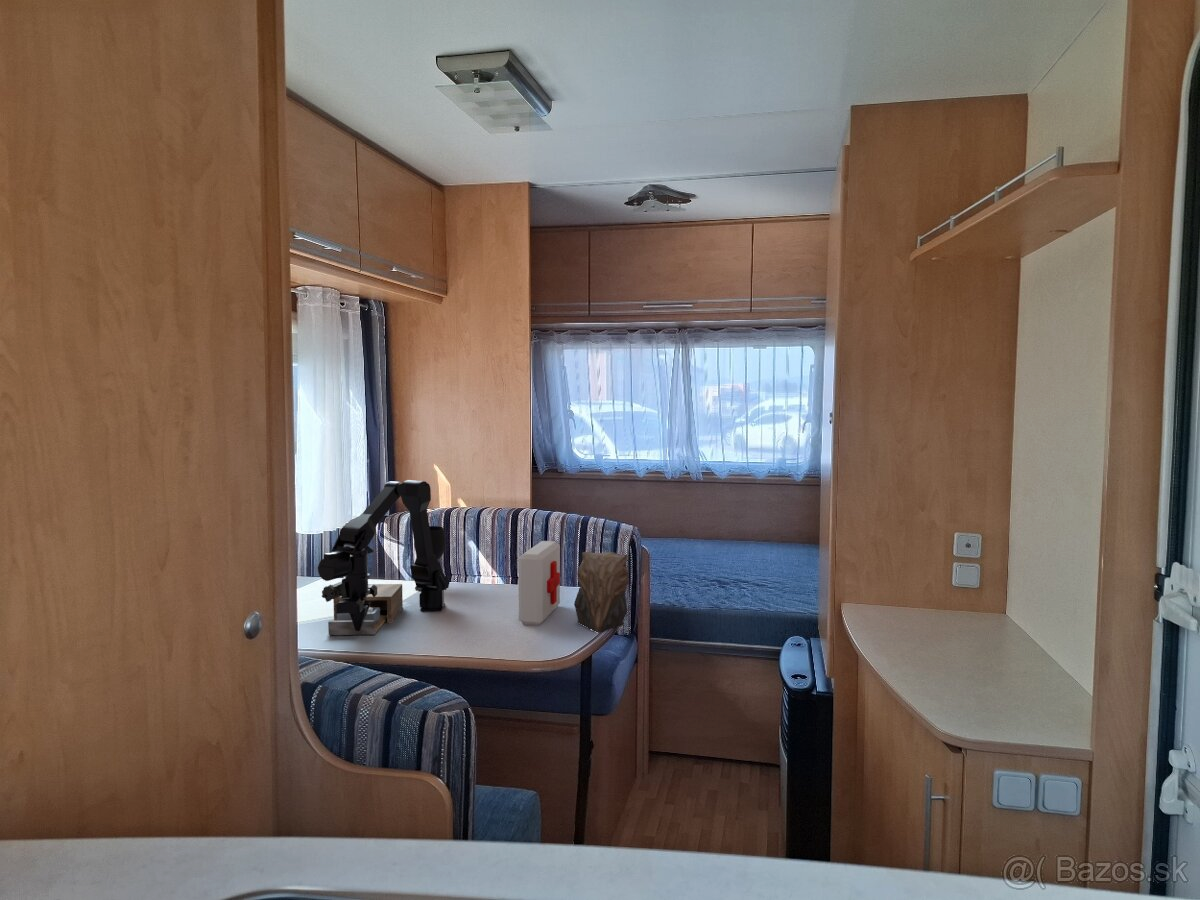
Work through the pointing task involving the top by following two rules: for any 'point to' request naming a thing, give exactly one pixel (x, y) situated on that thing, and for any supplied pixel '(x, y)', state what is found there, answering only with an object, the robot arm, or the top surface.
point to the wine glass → (437, 542)
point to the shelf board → (348, 628)
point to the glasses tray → (371, 615)
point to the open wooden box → (383, 600)
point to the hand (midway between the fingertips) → (357, 630)
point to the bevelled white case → (539, 582)
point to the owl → (602, 590)
